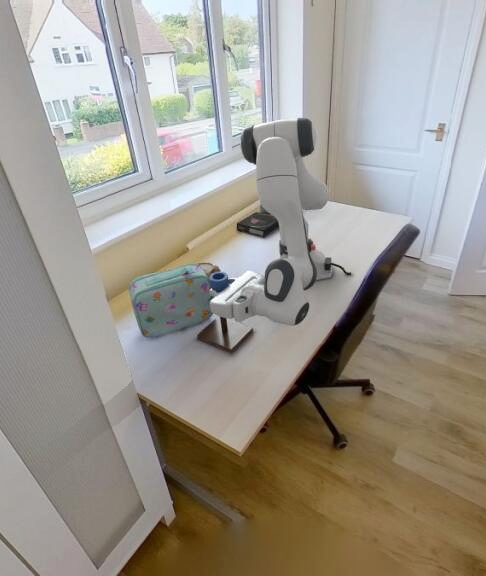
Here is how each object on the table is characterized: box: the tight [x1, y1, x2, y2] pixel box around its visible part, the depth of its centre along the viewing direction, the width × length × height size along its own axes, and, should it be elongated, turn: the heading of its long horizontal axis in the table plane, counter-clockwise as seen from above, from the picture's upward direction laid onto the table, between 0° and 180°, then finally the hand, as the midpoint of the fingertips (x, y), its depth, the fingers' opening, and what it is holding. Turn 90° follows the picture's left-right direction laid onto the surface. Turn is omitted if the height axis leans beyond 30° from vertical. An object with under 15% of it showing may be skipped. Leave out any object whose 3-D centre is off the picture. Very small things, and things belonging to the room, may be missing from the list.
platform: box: [196, 315, 254, 355], centre depth 128 cm, size 14×12×9 cm
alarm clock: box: [196, 261, 222, 277], centre depth 161 cm, size 11×5×15 cm
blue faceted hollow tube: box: [209, 271, 230, 299], centre depth 120 cm, size 5×5×9 cm
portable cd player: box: [235, 211, 279, 239], centre depth 198 cm, size 16×17×4 cm
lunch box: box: [128, 263, 214, 339], centre depth 131 cm, size 27×10×21 cm, turn 117°
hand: (217, 285), depth 120 cm, fingers closed on blue faceted hollow tube, 5 cm apart
